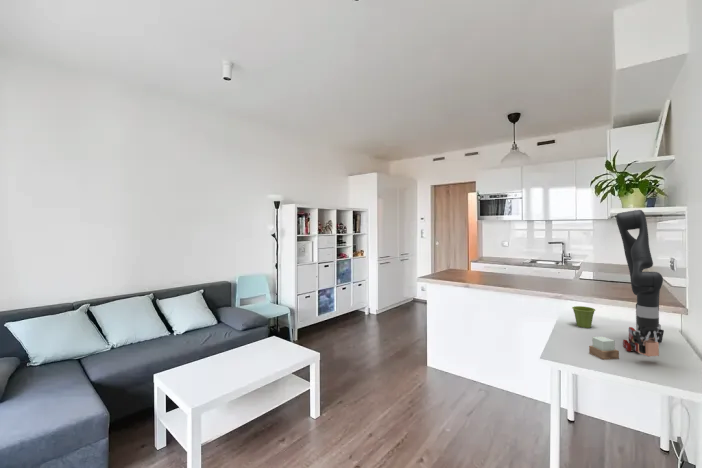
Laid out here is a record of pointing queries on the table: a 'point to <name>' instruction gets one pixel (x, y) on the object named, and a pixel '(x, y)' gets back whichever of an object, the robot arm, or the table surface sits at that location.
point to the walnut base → (604, 353)
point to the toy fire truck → (630, 342)
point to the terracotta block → (651, 348)
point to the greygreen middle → (603, 343)
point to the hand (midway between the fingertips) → (648, 352)
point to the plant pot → (583, 316)
